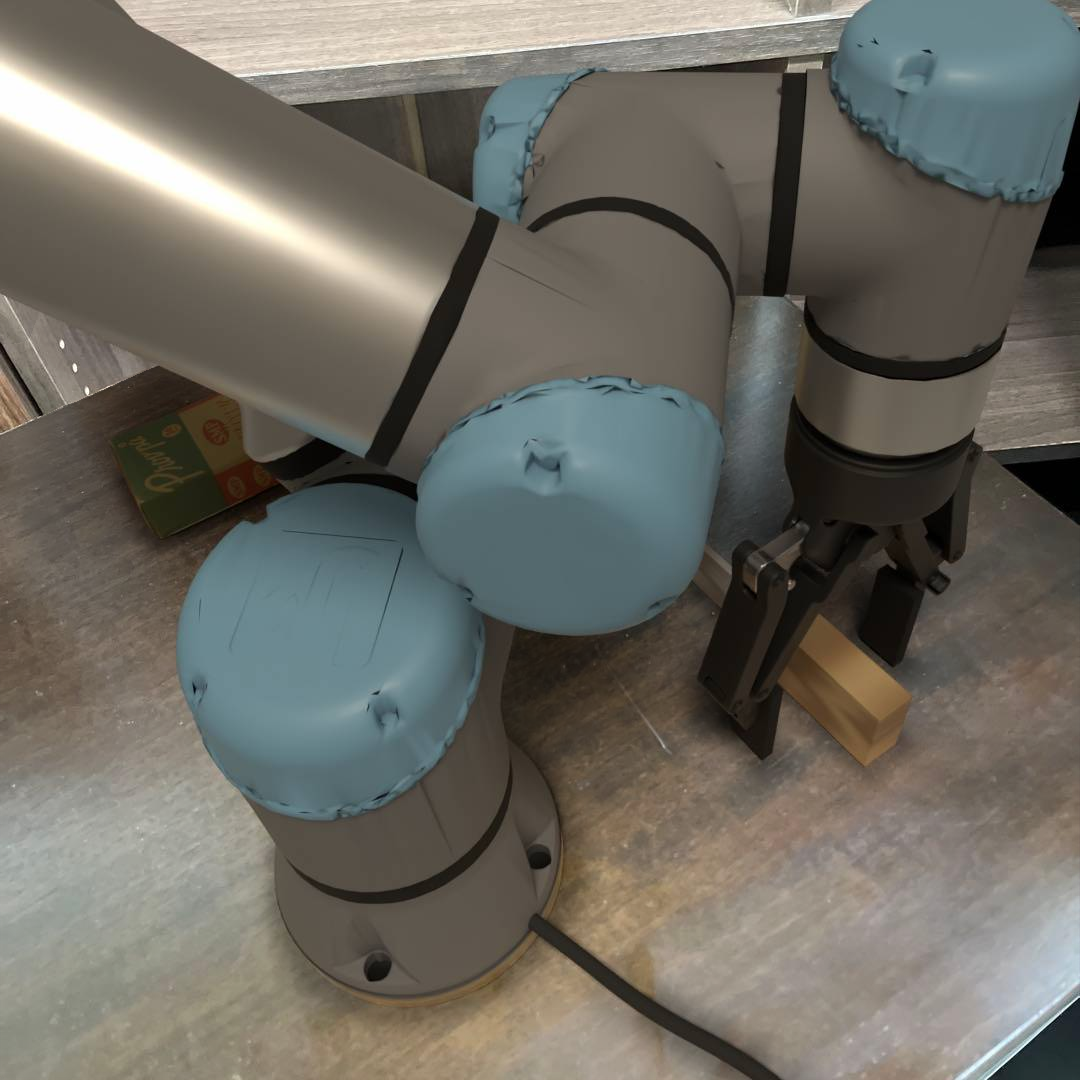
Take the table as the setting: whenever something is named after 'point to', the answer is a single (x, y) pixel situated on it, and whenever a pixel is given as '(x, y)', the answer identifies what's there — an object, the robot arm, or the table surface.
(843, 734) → the knife
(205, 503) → the carton
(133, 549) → the table surface
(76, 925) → the table surface
